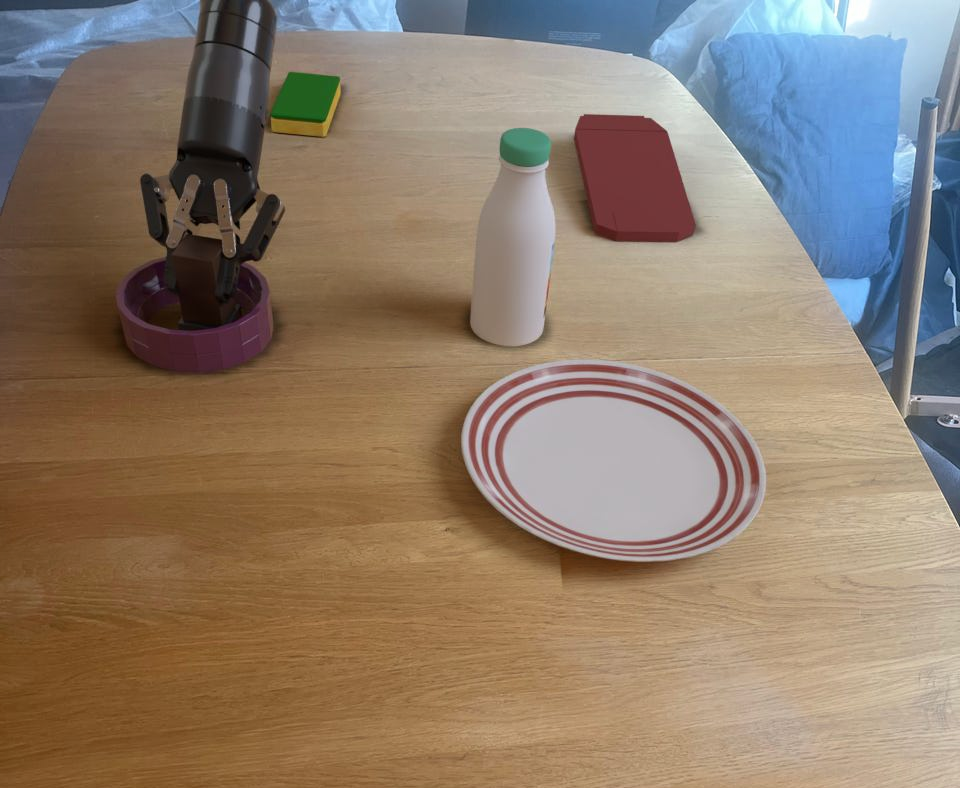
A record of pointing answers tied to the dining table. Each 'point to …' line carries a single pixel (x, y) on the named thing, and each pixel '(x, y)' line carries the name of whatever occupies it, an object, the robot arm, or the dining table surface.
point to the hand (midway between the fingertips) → (198, 296)
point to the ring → (199, 347)
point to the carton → (632, 179)
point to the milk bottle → (515, 244)
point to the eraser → (201, 284)
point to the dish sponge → (306, 104)
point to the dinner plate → (613, 460)
